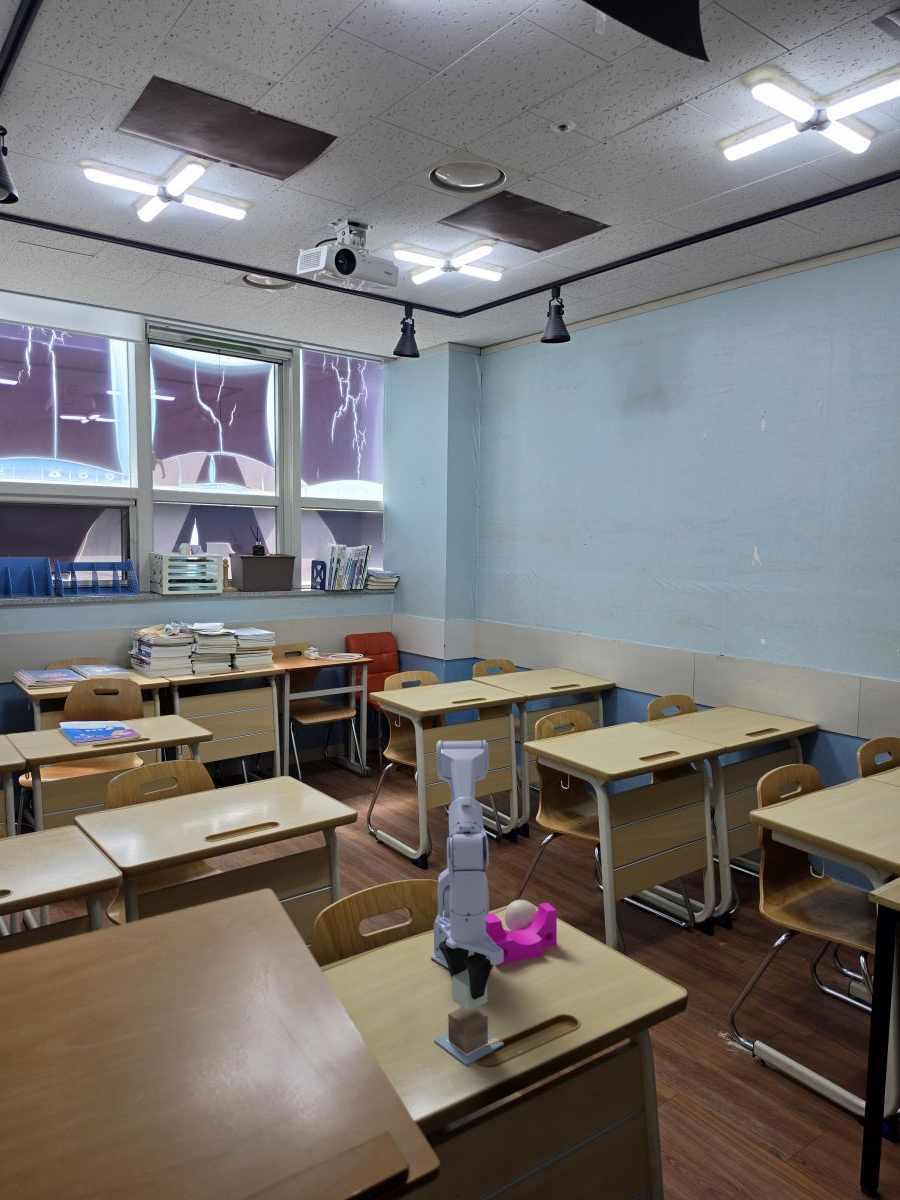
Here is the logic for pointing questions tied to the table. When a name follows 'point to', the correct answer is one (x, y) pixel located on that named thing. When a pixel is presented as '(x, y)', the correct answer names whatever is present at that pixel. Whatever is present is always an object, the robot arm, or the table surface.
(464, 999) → the sage cube
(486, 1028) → the walnut cube
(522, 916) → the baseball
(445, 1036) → the pad
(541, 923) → the toy block
